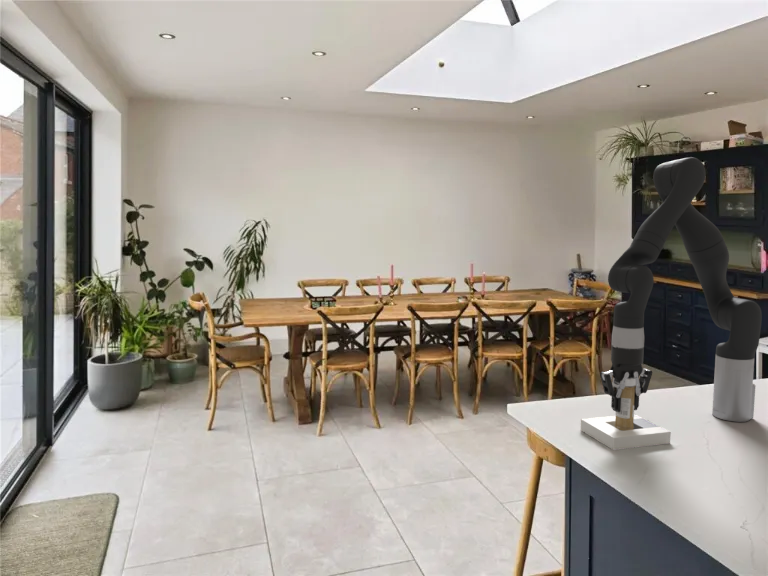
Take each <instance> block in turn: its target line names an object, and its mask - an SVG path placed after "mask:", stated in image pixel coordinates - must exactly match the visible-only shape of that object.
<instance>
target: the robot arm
mask: <svg viewBox="0 0 768 576" xmlns="http://www.w3.org/2000/svg"><path fill="white" fill-rule="evenodd" d="M706 174H707V173H706V168H705V166H704V164H703V162H702V161H701V160H700V159H698V158H697V157H692V156H690V157H684V158H680V159H674V160H671V161H666V162H663V163H661V164H660V163H659V165H657V166H656V167H655V169H654V171H653V180H652V181H653V184H654V188H655V191H656V192H657V193H658V196H659V198H660V199H661V202H662V203H661V204H660V205H659V206H658V207H657V208H656V209H654V211H653V212H652V213H651V214H650V215H649V216H648V217H647V218H646V219H645V220H644V221H643V222H642V224H641V225H640V226H639V228H638V229H637V232H636V234H635V235H634V238H633V240H632V241H631V243H630V245H629V247H628V248H627V249H626V250H625V251H624V252H623V253H622V254H621V255H620V257H618V259H617V260H616V261H615V262H614V264H613V265H612V266H611V268H610V269H609V272H608V275H607V283H608V286H609V288H610V289H611V290H613V291H615V292H619V293H626V294H630V295H629V297H628V298H629V299H628V300H627V301H621V302H617V303H616V304H615V305H614V308H613V325H612V332H611V348H610V349H611V350H610V351H611V352H610V361H611V367H610V368H609V370H608V371H605V372H604V371H601V372H599V375H600V380H601V385H602V387H603V388H602V389H603V393H604V394H606V395H608V396H610V397H611V403H610V404H611V405H610V408H611V409H612V410H613V412H615V413H616V412H620V408H621V398H620V396H621V392H622V390H623V389H624V387H625V382H626V380H627V379H628V378H634V379H635V380H636V385H635V395H634V411H637V410H638V408H639V406H640V396H641V395H642V394H646V393H647V392H648V389H649V385H650V382H651V379H652V376H653V371H652V370H650V369H647V368H645V367H644V368H643V366H642V365H643V363H644V354H645V353H644V350H645V330H644V325H645V310H646V308H647V305H648V304H647V303H648V301H649V299H650V295H651V292H652V290H653V286H654V274H653V272H652V270H651V269H650V268H649V267H648V266H646V265H649V264H653V263H654V262H656V260H658V257H659V256H660V254H661V251H662V249H663V248H664V245H665V244H666V242H667V239H668V237H669V236H670V234H671V232H672V230H673V228H674V227H675V228H676V229H677V232H678V234H679V236H680V238H681V241H682V243H683V246H684V249H685V252H686V253H687V255H688V258H689V260H690V263H691V264H692V267H693V269H694V271H695V274H696V276H697V279H698V281H699V283H700V285H701V288H702V292H703V294H704V297H705V300H706V304H707V309H708V312H709V314H710V317H711V320H712V321H713V323H714V325H715V326H717V327H718V328H720V329H722V330H724V331H729V337H728V339H727V341H726V342H720V343H718V344H717V345H716V346H715V347H716V348H715V359H714V375H713V376H714V379H713V393H712V413H711V414H712V416H713V417H715V418H718V419H720V420H724V421H729V422H739V423H743V422H750V420H751V419H754V415H755V414H754V412H755V399H756V397H755V396H756V385H755V383H754V370H755V368H754V366H755V356H756V351H757V349H758V348H759V344H760V337H761V328H762V322H763V321H762V319H763V318H762V317H763V316H762V315H763V314H762V309H761V307H760V305H759V304H758V303H757V302H756V301H753V300H750V299H745V298H739V297H735V296H734V294H733V292H732V291H731V289H730V286H729V284H728V281H727V271H728V268H729V267H728V266H729V261H730V254H729V249H728V247H727V243H726V242H725V239H724V236H723V234H722V233H721V230H719V228H718V227H717V226H716V225H715V224H714V223H713V222H712V221H710V220H709V219H708V218H707V217H706V216H704V215H703V214H702V213H701V212H699V211H698V209H696V208H695V206H694V205H693V204H692V202H693V200H694V198H695V197H696V196H697V194H699V192H700V190H701V189H702V188H703V185H704V184H705V180H706ZM616 382H618V383H620V385H618V384H617V383H616Z"/></svg>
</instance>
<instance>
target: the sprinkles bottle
mask: <svg viewBox="0 0 768 576" xmlns="http://www.w3.org/2000/svg"><path fill="white" fill-rule="evenodd" d="M616 383H617V384H618V385H620V383H618V382H616ZM635 385H636V380H635V379H634V378H628V379H627V380H626V382H625V387H624V389H623V390H622V392H621V396H620V398H621V408H620V412H616V411H615V416H616V421H615V427H616V428H617V429H619V430H624V431H625V430H633V429H634V426H633V421H634V414H635V410H634V395H635Z"/></svg>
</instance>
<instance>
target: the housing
mask: <svg viewBox="0 0 768 576" xmlns="http://www.w3.org/2000/svg"><path fill="white" fill-rule="evenodd" d="M615 421H616V415H607V416H599V417H597V416H596V417H589V418H581V419H580V431H581V432H583V433H584V432H585V433H584V434H586V435H587V436H590V437H592V439H595V440H597V441H598V442H600V443H601V444H603V445H604V446H606V447H608V448H609V449H611V450H613V451H617V450H623V449H624V450H625V448H627V449H633V448H634V447H635V448H642V447H653V446H659V445H667V444H671V434H672V433H671V432H672V431H671V430H669V429H666V428H664V427H663V426H661V425H657V424H656V423H653V422H651V421H649V420H647V419H646V418H644V417H641V416H639V415H637V414H635V413H634V421H633V426H634V429H633V430H625V431H624V430H619V429H617V428H616V427H615ZM635 448H634V449H635Z"/></svg>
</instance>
